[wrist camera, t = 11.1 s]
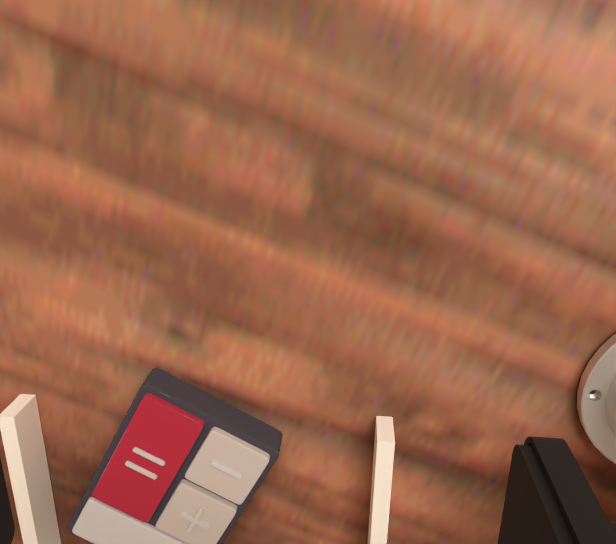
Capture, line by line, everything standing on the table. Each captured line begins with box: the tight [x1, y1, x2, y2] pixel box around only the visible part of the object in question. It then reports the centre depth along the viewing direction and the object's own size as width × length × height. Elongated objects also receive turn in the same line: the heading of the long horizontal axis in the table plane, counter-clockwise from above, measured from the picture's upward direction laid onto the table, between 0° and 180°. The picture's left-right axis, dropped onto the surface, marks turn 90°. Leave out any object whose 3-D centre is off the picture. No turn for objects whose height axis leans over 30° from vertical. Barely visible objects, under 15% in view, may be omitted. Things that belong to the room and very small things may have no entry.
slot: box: [0, 394, 395, 544], centre depth 45 cm, size 28×16×3 cm, turn 89°
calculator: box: [68, 368, 282, 544], centre depth 44 cm, size 11×4×15 cm
